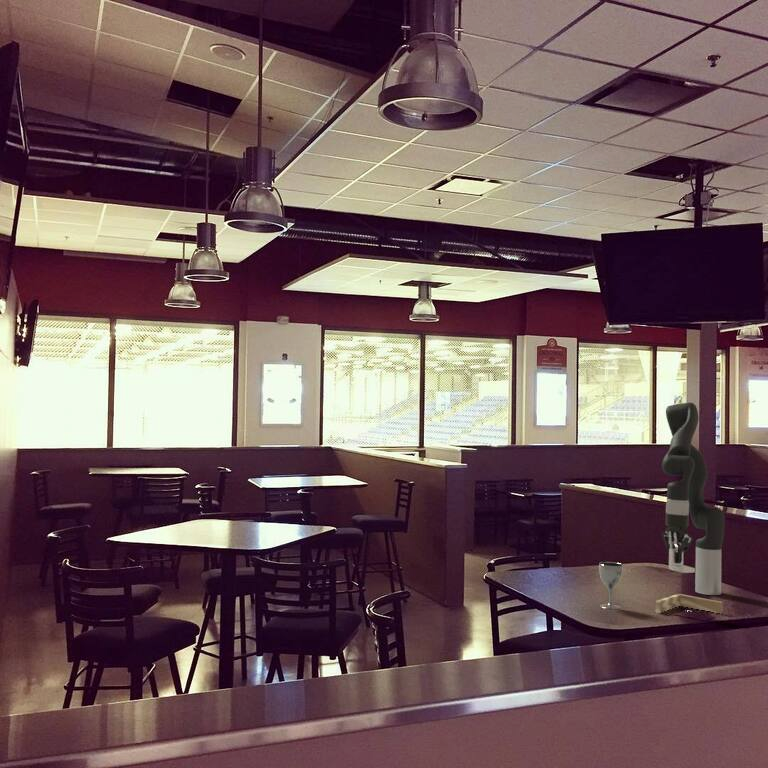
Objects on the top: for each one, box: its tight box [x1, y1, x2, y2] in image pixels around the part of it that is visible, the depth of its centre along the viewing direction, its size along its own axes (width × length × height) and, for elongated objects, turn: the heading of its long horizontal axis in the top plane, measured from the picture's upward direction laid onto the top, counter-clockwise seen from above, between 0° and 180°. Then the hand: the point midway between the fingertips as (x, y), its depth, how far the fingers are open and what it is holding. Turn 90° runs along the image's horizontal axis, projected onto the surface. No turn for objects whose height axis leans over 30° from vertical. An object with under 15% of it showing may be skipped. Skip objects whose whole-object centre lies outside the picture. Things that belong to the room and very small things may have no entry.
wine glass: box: [598, 561, 624, 610], centre depth 274 cm, size 8×8×15 cm
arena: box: [654, 593, 724, 615], centre depth 268 cm, size 18×16×4 cm
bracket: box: [668, 549, 696, 574], centre depth 269 cm, size 7×5×7 cm
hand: (676, 562), depth 272 cm, fingers closed on bracket, 1 cm apart
